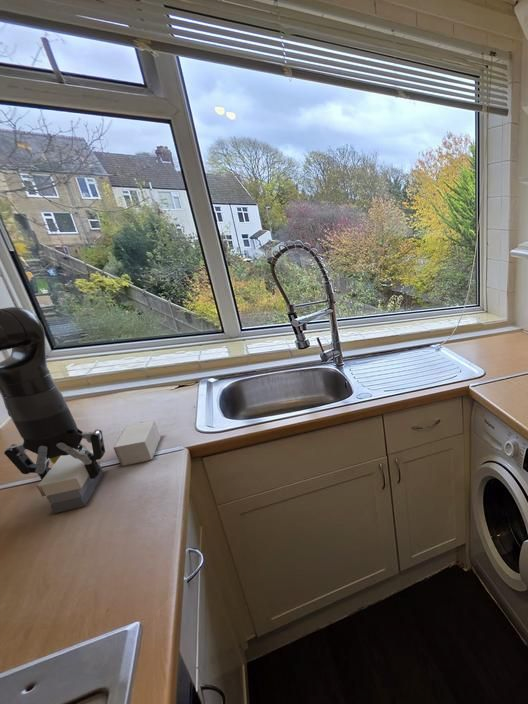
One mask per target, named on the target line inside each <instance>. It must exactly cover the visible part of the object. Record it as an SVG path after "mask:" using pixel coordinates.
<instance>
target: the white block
mask: <svg viewBox="0 0 528 704" xmlns="http://www.w3.org/2000/svg"><path fill="white" fill-rule="evenodd" d="M161 438H162V436H161V434H160V431H159V428H158V426H157V423H156V421H155V420H154V419H153V420H149V421H142V422H137V423H131V424H126V425H125V427H124V428H123V429H122V432H121V434H120V435H119V438H118V439H117V441H116V442H115V444H114V445H113V450H114V452H115V455H116V457H117V460H118V462H119V464H120V466H121V467H124V466H128V465H129V466H130V465H134V464H138V463H143V462H148V461H152V459H153V458H154V455H155V452H156V450H157V448H158V446H159V444H160V440H161Z"/></svg>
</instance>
